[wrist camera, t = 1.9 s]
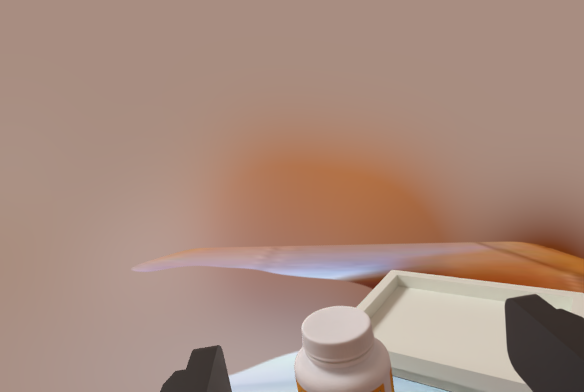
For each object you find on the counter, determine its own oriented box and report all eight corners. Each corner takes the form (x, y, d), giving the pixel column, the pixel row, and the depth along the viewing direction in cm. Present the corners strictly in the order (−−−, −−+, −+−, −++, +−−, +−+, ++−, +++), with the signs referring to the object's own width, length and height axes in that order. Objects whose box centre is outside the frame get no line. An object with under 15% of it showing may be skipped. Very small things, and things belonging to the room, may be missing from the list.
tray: (332, 358, 38) (328, 336, 37) (393, 287, 49) (391, 269, 48) (578, 426, 27) (578, 396, 27) (587, 316, 38) (587, 293, 37)
